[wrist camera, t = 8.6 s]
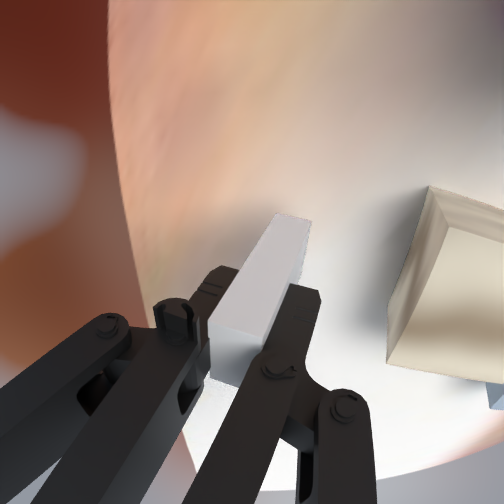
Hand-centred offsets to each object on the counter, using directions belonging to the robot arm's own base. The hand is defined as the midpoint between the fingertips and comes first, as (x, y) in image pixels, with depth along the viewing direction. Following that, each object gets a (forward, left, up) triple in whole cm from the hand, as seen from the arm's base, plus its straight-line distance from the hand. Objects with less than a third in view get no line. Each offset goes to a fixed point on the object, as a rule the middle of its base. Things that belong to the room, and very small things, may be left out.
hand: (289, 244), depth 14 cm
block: (+1, +10, -5) cm, 11 cm away
